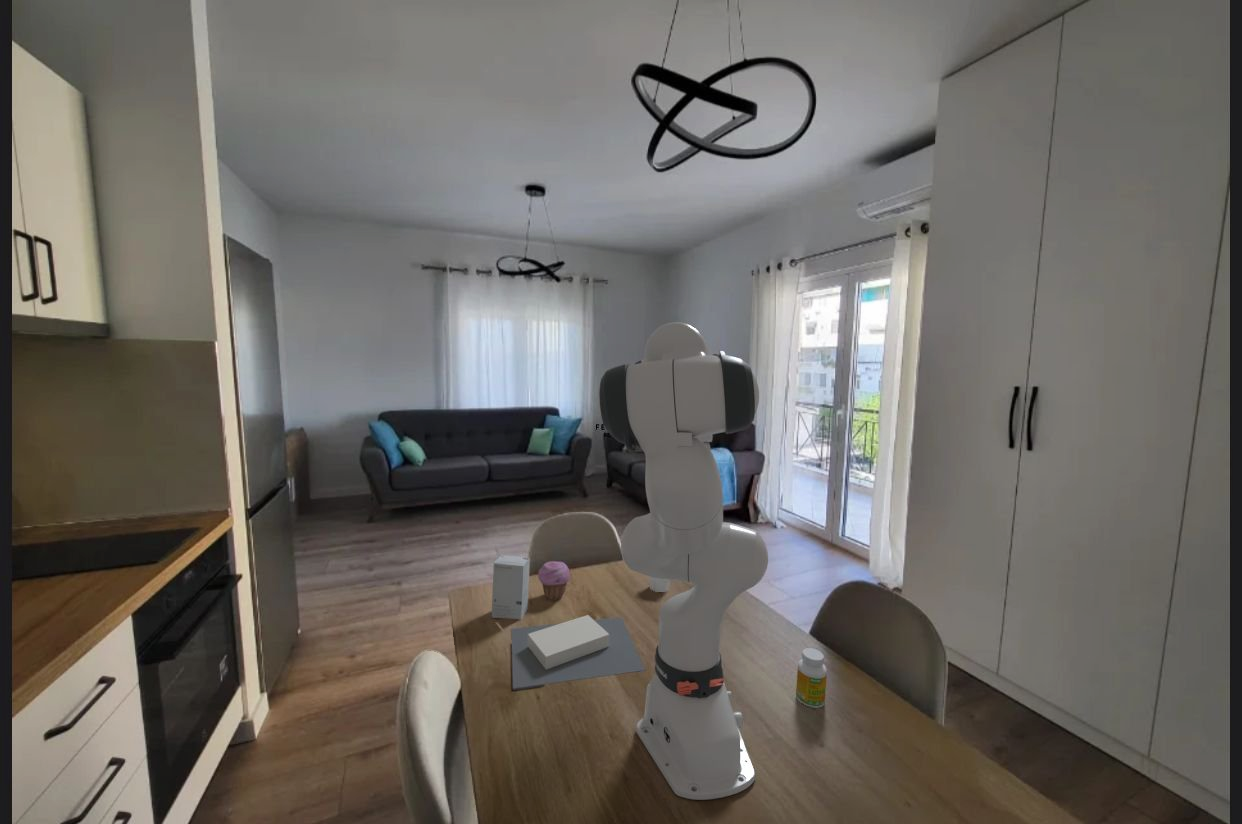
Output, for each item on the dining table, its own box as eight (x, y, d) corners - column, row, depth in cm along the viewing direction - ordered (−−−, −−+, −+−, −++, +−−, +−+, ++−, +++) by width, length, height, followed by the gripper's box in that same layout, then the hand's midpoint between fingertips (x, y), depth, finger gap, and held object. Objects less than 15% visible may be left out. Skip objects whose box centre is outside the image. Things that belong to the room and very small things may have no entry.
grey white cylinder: (672, 594, 138) (672, 571, 137) (648, 593, 138) (649, 570, 137) (670, 583, 145) (670, 561, 144) (647, 582, 145) (648, 560, 144)
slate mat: (645, 671, 103) (645, 670, 103) (512, 690, 97) (512, 688, 97) (621, 618, 124) (621, 616, 124) (511, 630, 118) (511, 628, 118)
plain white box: (588, 614, 119) (527, 633, 110) (609, 634, 111) (546, 656, 102) (587, 626, 119) (527, 647, 111) (609, 647, 111) (545, 670, 102)
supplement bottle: (807, 711, 92) (810, 664, 91) (790, 692, 98) (793, 648, 97) (830, 706, 94) (834, 660, 93) (812, 688, 99) (815, 644, 98)
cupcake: (534, 592, 137) (534, 559, 136) (562, 586, 141) (563, 554, 140) (544, 607, 129) (544, 571, 128) (574, 600, 133) (574, 566, 132)
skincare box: (491, 618, 123) (490, 563, 121) (499, 606, 129) (499, 553, 127) (522, 621, 122) (522, 565, 121) (530, 609, 128) (530, 555, 127)
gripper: (659, 424, 124) (657, 476, 125) (689, 436, 104) (687, 498, 105) (682, 424, 125) (680, 475, 127) (716, 435, 106) (713, 496, 107)
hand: (683, 486), depth 116 cm, fingers closed
